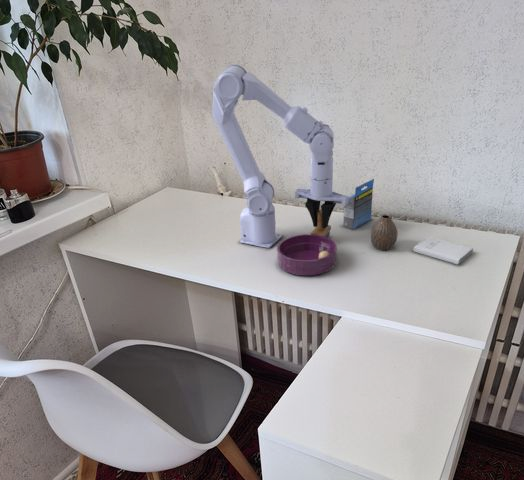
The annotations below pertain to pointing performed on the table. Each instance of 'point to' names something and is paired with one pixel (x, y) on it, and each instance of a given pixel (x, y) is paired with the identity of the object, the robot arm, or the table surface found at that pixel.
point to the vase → (384, 233)
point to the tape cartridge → (359, 206)
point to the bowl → (306, 254)
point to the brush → (319, 228)
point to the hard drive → (443, 250)
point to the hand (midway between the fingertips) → (320, 226)
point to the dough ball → (323, 254)
